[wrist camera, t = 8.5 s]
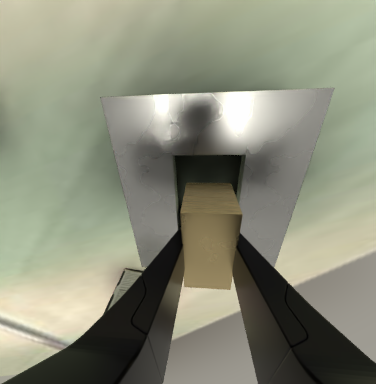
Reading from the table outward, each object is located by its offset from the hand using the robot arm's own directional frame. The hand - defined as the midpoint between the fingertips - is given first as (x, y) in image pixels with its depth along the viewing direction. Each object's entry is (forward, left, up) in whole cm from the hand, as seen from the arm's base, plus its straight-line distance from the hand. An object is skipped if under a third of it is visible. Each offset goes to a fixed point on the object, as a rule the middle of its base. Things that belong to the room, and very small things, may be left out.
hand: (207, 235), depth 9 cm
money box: (0, 0, -8) cm, 8 cm away
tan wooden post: (0, 0, -2) cm, 2 cm away
